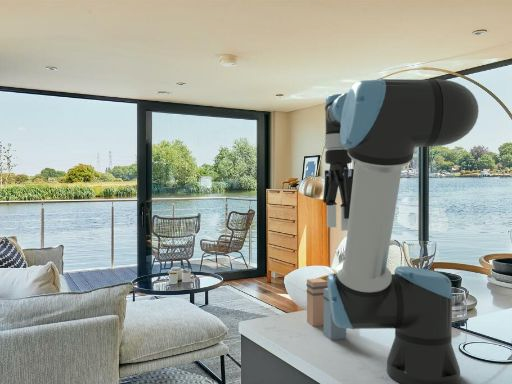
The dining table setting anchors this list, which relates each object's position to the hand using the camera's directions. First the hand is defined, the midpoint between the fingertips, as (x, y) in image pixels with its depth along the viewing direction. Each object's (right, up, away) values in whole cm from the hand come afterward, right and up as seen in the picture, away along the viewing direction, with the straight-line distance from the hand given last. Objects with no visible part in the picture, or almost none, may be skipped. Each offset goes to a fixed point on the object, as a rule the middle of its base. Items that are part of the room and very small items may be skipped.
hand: (338, 228), depth 125 cm
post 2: (-2, -29, -5) cm, 30 cm away
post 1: (-5, -29, +7) cm, 30 cm away
